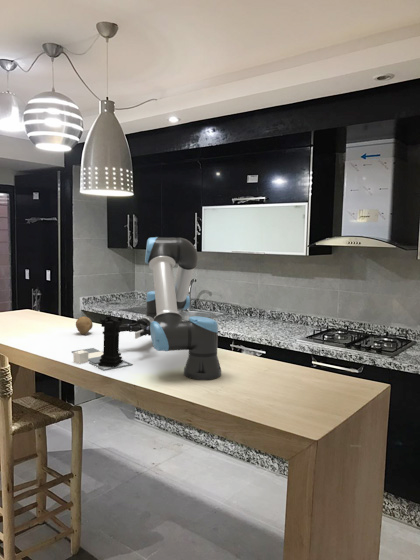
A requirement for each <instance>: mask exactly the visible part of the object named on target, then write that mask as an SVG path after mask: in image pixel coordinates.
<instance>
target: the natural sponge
mask: <svg viewBox="0 0 420 560" xmlns="http://www.w3.org/2000/svg"><path fill="white" fill-rule="evenodd" d="M75 326H76V329H77V331H78V333H80V334H81V335H86V334H87V333H89V331H91V330H92V329H93V326H94V325H93V322H92V319H91V318H89V317H87V316H85V315H84V316H79V318H78V319H76V322H75Z"/></svg>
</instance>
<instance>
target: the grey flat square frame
mask: <svg viewBox="0 0 420 560" xmlns="http://www.w3.org/2000/svg"><path fill="white" fill-rule="evenodd" d="M121 360H123V362H122V363H125V364H123V365H118V366H117V367H108V368H103V367H102V366H100V365H98V364H94V363H93V362H89V361H88V364H90V365H92V366H93V365H94V367H95V366H96V367H95V368H97V367H98V368H97V369H99V370H102V371H103V372H105V371H110V370H115V369H120V368H125V367H129V366H133V365H134V364H133V363H132V362H128V361H126V360H124V359H123V358H122V359H121Z"/></svg>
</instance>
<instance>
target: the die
mask: <svg viewBox="0 0 420 560" xmlns="http://www.w3.org/2000/svg"><path fill="white" fill-rule="evenodd" d="M80 350H81V351H77V350H75V351H76V352H73V353H72V354H73V363H76V364H78V363H79V365H81V363H82V364H85V363H89V361H88V352H87V351H83V349H80Z"/></svg>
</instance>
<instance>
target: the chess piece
mask: <svg viewBox="0 0 420 560" xmlns="http://www.w3.org/2000/svg"><path fill="white" fill-rule="evenodd" d="M123 321H124V317H121V316H119V317H118V318H117V319H113V318H112V316H111V315H106V316H105V318H101V319H100V321H99V322H100V323H101V327H103V331H102V335H103V351H102V352H103V355H101V359H100V360H99V363H98V364H97V365H98V366H100V367H108V368H113V367H118V366H121V365H122V363H124V362H123V360H124V359H123V356H121V355H122V353H121V352H119V345H120V343H119V342H120V330H119V326H120V325H123ZM121 359H122V360H121Z"/></svg>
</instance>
